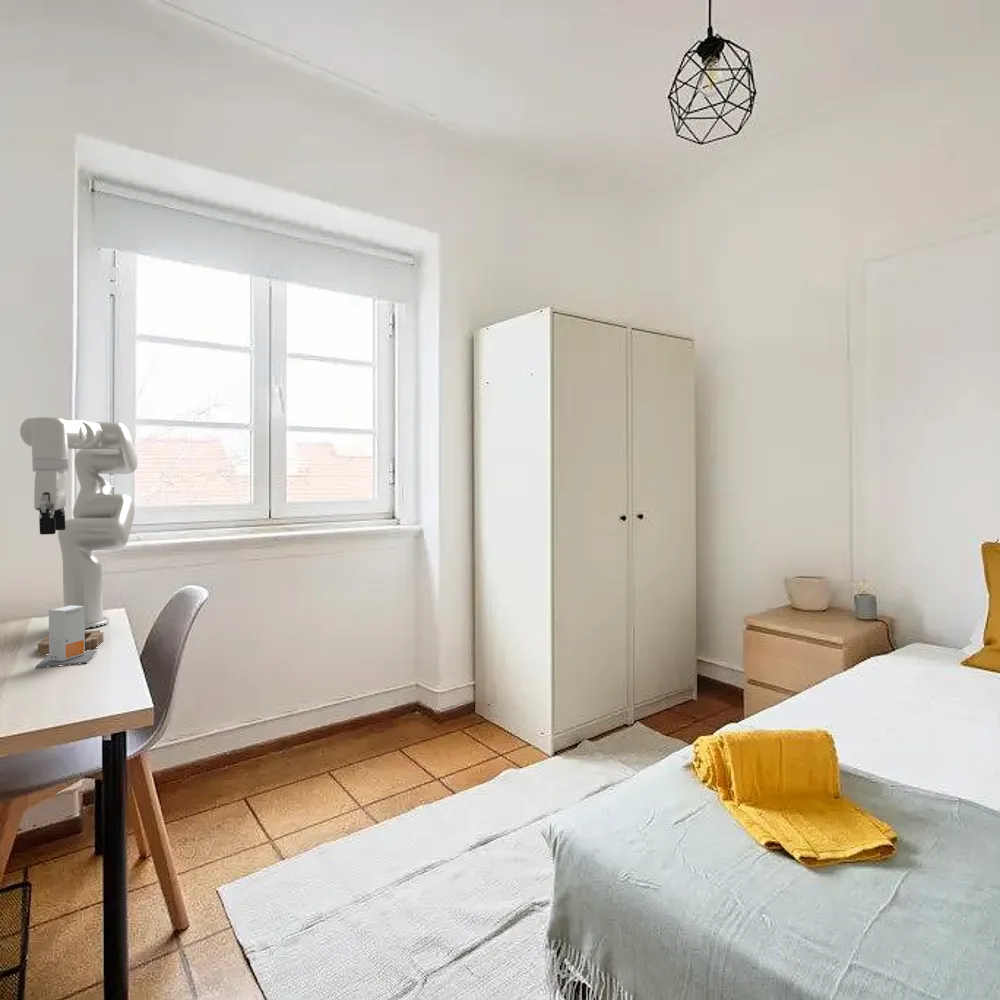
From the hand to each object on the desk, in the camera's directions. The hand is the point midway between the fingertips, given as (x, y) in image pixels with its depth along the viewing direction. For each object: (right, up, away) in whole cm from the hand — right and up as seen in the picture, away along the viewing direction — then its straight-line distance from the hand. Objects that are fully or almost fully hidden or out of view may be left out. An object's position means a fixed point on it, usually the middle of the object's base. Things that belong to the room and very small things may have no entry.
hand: (53, 532), depth 160 cm
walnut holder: (+6, -30, -1) cm, 30 cm away
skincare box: (+12, -30, -12) cm, 34 cm away
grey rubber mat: (+13, -30, -13) cm, 35 cm away
